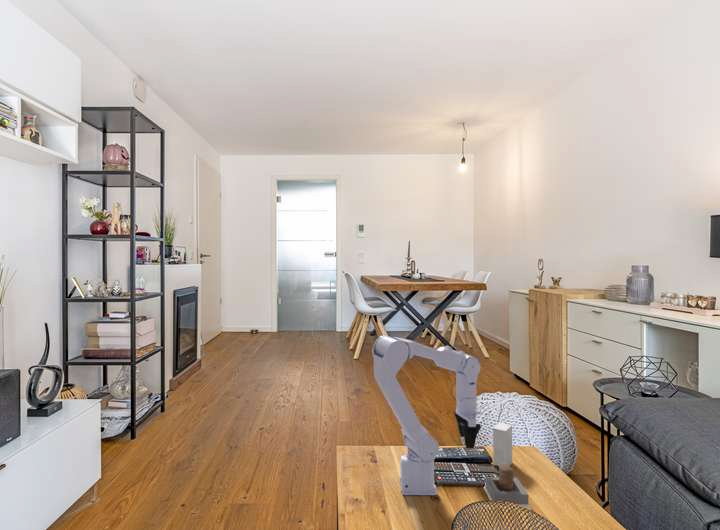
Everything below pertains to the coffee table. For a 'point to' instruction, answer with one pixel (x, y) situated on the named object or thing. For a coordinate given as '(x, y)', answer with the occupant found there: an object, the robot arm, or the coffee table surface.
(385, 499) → the coffee table surface
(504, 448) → the skincare box
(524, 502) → the socket board
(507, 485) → the walnut peg
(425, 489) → the robot arm
